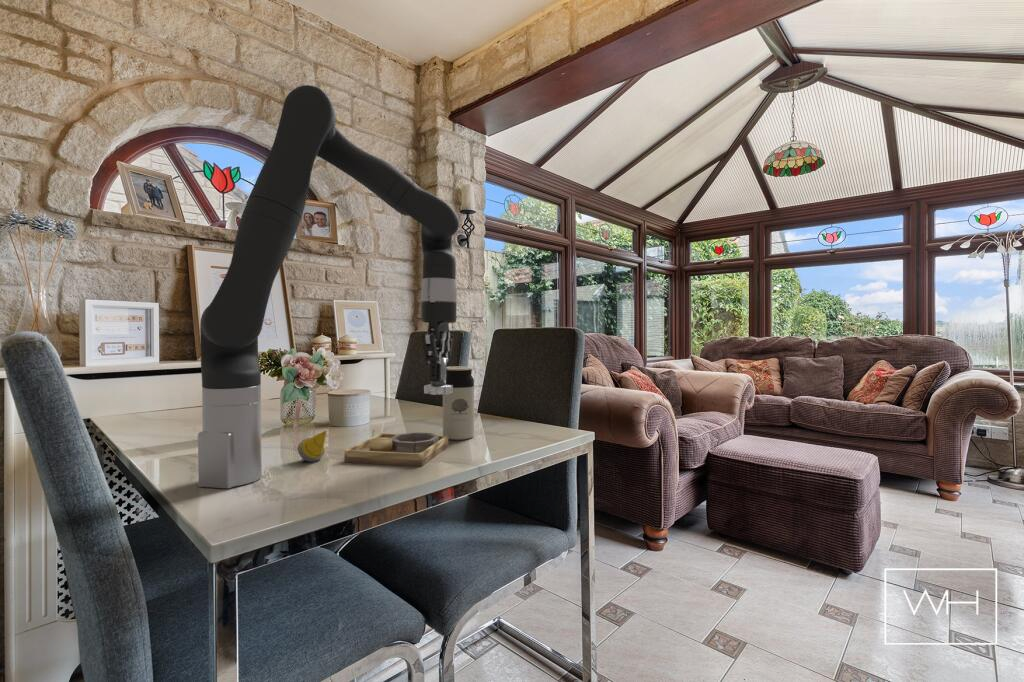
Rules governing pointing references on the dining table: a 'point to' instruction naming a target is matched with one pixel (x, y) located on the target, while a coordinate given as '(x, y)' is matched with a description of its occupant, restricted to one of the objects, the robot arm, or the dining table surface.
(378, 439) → the carrier
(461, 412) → the travel mug
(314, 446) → the yellow grey teardrop
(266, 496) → the dining table surface
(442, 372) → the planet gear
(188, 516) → the dining table surface
